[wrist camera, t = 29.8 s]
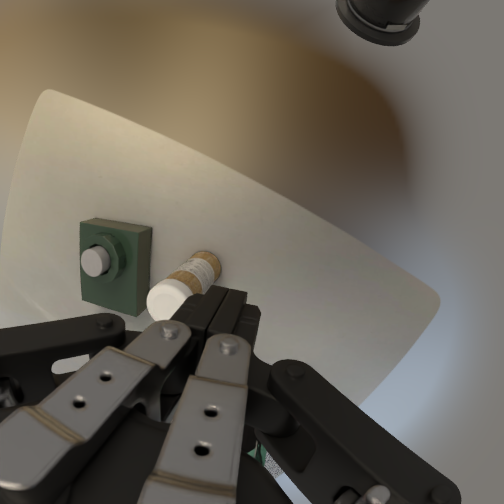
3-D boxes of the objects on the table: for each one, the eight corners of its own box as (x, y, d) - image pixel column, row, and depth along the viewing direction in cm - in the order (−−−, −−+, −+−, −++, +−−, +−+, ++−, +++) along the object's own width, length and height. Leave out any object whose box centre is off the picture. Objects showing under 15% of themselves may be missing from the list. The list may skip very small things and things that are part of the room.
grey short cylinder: (89, 243, 35) (80, 247, 33) (110, 248, 35) (102, 252, 33) (89, 269, 36) (81, 273, 34) (110, 274, 36) (102, 279, 34)
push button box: (95, 217, 40) (70, 224, 34) (152, 227, 39) (131, 235, 34) (95, 291, 43) (74, 305, 38) (148, 306, 42) (130, 323, 37)
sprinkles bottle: (194, 285, 41) (154, 331, 28) (185, 254, 40) (138, 289, 27) (225, 279, 40) (195, 326, 27) (216, 246, 39) (180, 281, 26)
